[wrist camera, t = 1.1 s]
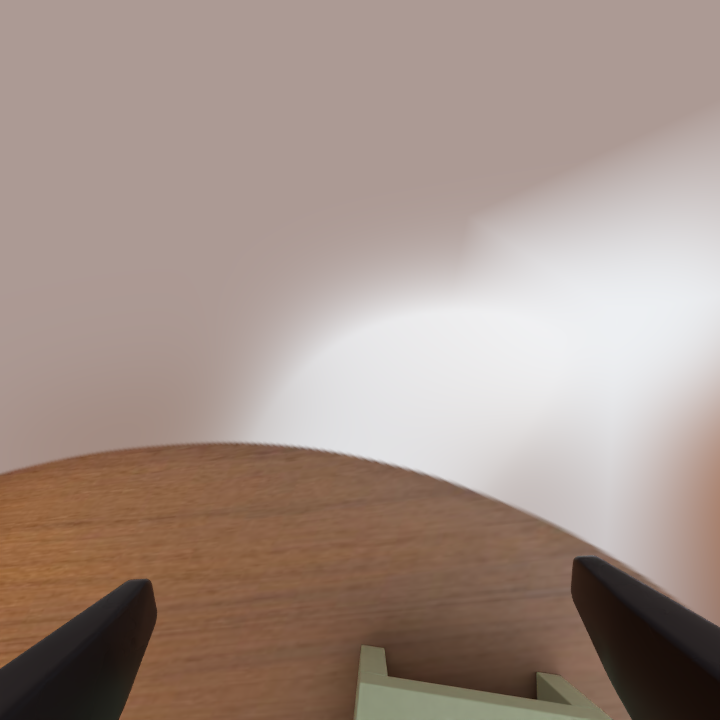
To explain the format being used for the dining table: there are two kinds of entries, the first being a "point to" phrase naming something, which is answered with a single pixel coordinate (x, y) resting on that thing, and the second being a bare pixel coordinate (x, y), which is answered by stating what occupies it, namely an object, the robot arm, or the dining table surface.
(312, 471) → the dining table surface
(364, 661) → the green box
